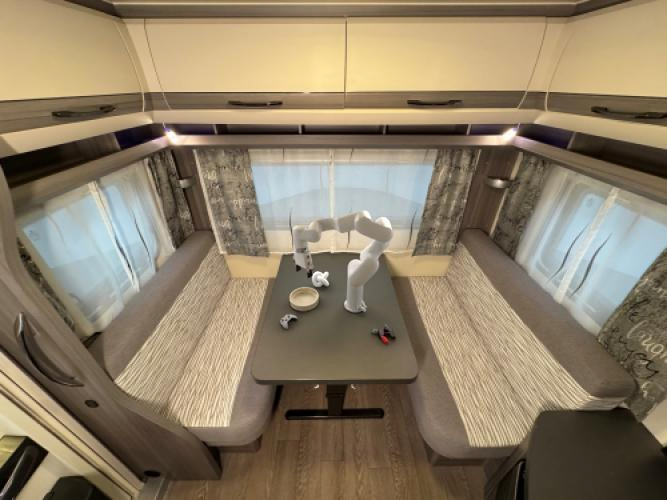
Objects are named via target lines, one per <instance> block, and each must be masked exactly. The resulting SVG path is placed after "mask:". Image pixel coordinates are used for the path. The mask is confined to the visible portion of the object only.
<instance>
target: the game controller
mask: <svg viewBox="0 0 667 500" xmlns="http://www.w3.org/2000/svg"><path fill="white" fill-rule="evenodd" d="M291 320H293V321H297V320H298V317H297V316H296V315H294V314H289V313H287V314H285V315H284V316H283V317H282V318H281V319H280V320H279V322H280V325H281V326H282V327H283V328H284V329H285V330H288V329H289V325H288V323H289V322H290V321H291Z"/></svg>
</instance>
